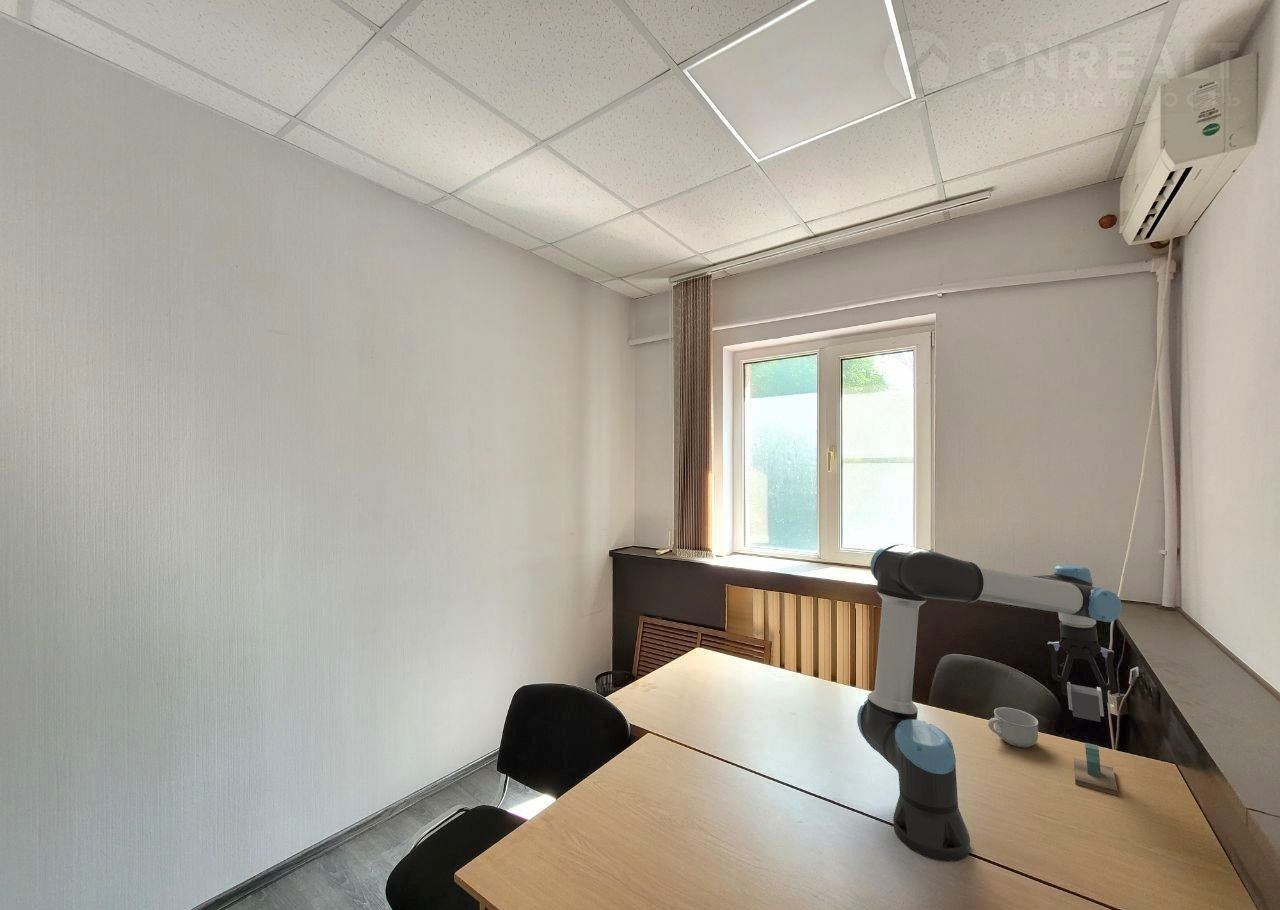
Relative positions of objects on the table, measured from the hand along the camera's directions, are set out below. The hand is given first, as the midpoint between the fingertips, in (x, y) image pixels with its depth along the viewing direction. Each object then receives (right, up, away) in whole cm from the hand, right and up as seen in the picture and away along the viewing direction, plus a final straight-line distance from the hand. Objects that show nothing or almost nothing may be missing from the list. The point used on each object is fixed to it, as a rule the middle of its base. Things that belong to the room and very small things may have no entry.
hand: (1085, 710), depth 131 cm
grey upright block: (0, -1, 0) cm, 1 cm away
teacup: (-7, -19, +17) cm, 26 cm away
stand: (+1, -17, -1) cm, 17 cm away
